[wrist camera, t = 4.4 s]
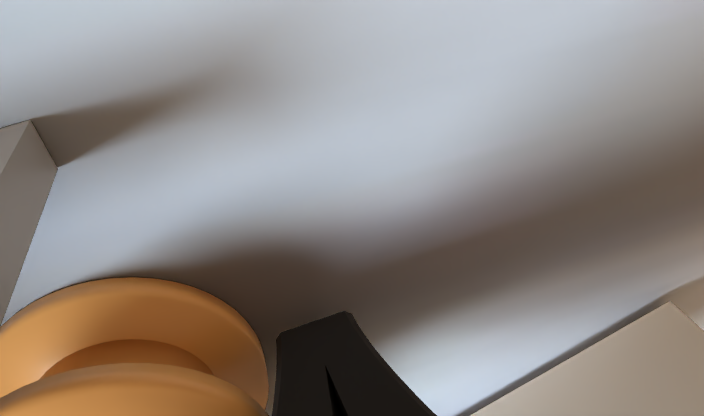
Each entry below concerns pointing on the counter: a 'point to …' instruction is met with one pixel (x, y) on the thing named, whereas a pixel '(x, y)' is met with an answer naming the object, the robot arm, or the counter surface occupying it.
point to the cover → (621, 374)
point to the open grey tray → (20, 199)
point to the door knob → (131, 354)
